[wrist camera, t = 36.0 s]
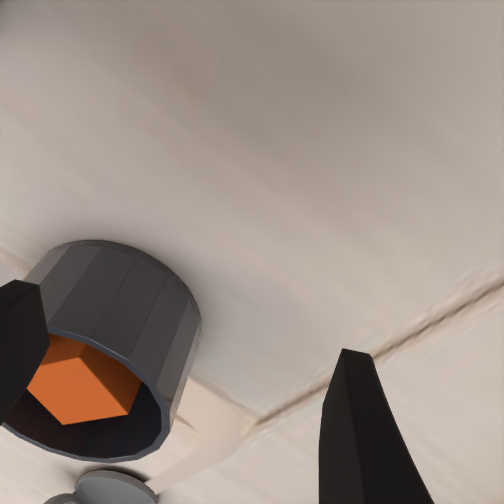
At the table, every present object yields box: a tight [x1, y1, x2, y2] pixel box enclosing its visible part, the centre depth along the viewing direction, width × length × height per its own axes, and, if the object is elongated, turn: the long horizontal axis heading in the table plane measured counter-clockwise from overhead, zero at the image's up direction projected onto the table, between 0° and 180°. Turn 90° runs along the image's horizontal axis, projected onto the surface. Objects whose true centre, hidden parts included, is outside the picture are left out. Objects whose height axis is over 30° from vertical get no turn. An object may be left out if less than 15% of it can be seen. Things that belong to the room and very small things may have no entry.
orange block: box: [27, 333, 142, 425], centre depth 24 cm, size 4×4×5 cm
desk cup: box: [1, 240, 201, 463], centre depth 24 cm, size 10×10×6 cm
